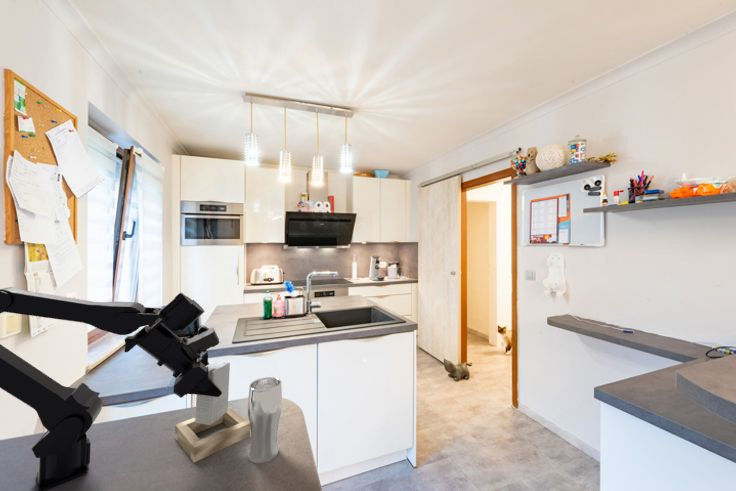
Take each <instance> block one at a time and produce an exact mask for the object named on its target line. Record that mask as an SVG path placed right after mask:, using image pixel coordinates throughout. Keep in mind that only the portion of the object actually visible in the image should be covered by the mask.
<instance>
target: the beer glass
mask: <svg viewBox="0 0 736 491" xmlns="http://www.w3.org/2000/svg"><path fill="white" fill-rule="evenodd" d="M248 386H249V388H248V398H247V400H248V401H247V415H248V416H247V417H248V418H247V419H248V422H249V425H250V439H251V440H250V446H249V451H248V459H249V461H250V462H252V463H255V464H265V463H268V462H270V461H272V460H273V459H275V458H276V457H277V456H278V454H279V450H280V449H279V442H278V430H279V424H280V419H281V413H282V406H283V405H282V404H283V391H282V380H281V379H280V378H278V377H274V376H273V377H269V376H268V377H267V376H266V377H261V378H257V379H254V380H253V381H251V383H250V384H249V385H248Z"/></svg>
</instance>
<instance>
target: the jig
mask: <svg viewBox="0 0 736 491" xmlns="http://www.w3.org/2000/svg"><path fill="white" fill-rule="evenodd" d="M222 423H224V424H225V426H227V427H228V428H225V429H223V430H220V431H219V432H218V431H217V432H215V433H213V434H212V435H210V436H207V437H204V438H202V439H200V437H198V435H197V433H198V434H199V433H201V432H202V431H205V430H208V429H210V428H212V427H215V426H218V425H220V424H222ZM174 426H175V427H174V439H175V440H176V441H177V442H178V444H179V445H180V447H181V448H182V449H183V450H184V451H185V453H186V454H187V456H188V457H189V458H190V459H191V461H192V462H193V463H196V462H198V461H200V460H202V459H203V460H204V459H205V458H208V457H209V456H211V455H213V454H215V453H217V452H219V451H222V450H224V449H226V448H227V447H230V446H232V445H234V444H236V443H239V442H241V441H242V440H244V439H245V440H246V438H249V437H251V431H250V425H249V420H247V419H246V418H244V416H242V415H241V414H239V413H238V412H237V411H236V410H234V409H233V408H232V407H231V406H229V405H228V411H227V412H226V413H225V414H224V415H222V416H221V417H220V418H219V419H217V420H216V421H215V422H214V423H213V424H211V425H206V424H199V423H196V422H195V417H192V418H190V419H186V420H184V421H182V422H178V423H176V424H175V425H174Z"/></svg>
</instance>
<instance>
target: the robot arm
mask: <svg viewBox="0 0 736 491" xmlns="http://www.w3.org/2000/svg"><path fill="white" fill-rule="evenodd" d="M3 313H11V314H17V315H22V316H23V315H25V316H31V317H37V318H38V317H39V318H47V319H53V320H54V319H55V320H61V321H69V322H76V323H83V324H85V325H86V324H87V325H89V326H92V327H94V328H96V329H98V330H100V331H104V332H106V333H107V332H108V333H111V334H114V335H117V336H118V335H119V336H126V337H125V338H124V353H129V352H130V351H131V350H133V348H134V347H135V346H138V347H139V348H140V349H142V350H143V351H144V352H146V353H147V354H148V355H149V356H151V357H152V358H154V359H155V360H156V361H157V362H156V365H157V366H158V367H160V368H161V367H162V366H164V367H166V368H167V369H168V370H170V371H171V372H172V375H171V376H172V377H174V378H175V379H174V380H175V381H174V383H173V393H174V395H176V396H178V397H179V398H180V399H182V398H184V397H185V395H186V396H187V395H196V396H197V395H206V396H214V397H219V396H220V395H221V394H222V392H221V390H220V389H219V388H218V387H217V386H216V384H215V383H214V382H213V381H212V380H211V379H210V378H209V376H208V366H207V365H209V364H210V363H209V352H208V351H207V350H208V349H210V348H214V347H216V346H217V345H219V344H220V338H219V336H218V334H217V333H216V330H215V329H214V327H210V328H209V327H207V326H205V325H203V326H200V327H198V330H197V335H194V336H193V337H191V338H190V339H188V338H186V337H185V336H181V337H179V336H178V335H176V334H175V333H174V332H179V331H182V332H183V331H186V330H187V328H188V327H190V326H191V325H192V324H193V323H194V322H195V321H197V319H199V318H200V317H201V316H202V315H203V314H204V313H205V310H204V308H203V307H202V306H201V305H200V304H199V303H198V302H197V301H195V300H194V299H192V298H190V297H189V296H187V295H185V294H184V293H183V292H179V293H178V294H177V295H176V296H174V298H173V299H172V300H171V301H170V302H169V303H167V304H166V305H165V306H164V307H163V308H162V307H160V308H159V307H149V306H148V307H145V305H143V304H142V303H140V302H136V301H105V302H104V301H91V300H86V299H79V298H74V297H67V296H61V295H56V294H55V295H54V294H48V293H42V292H36V291H31V290H25V289H21V288H19V287H15V286H14V287H13V286H12V287H11V286H10V287H3V288H0V315H1V314H3ZM159 318H160V319H159ZM158 319H159V320H158ZM157 320H158V321H157ZM156 321H157V322H156ZM154 323H155V324H154ZM152 324H153V325H152ZM150 325H152V326H151V327H150ZM141 327H142V328H141ZM140 328H141V329H140ZM139 329H140V330H139ZM137 330H139V331H138V332H137V333H135V334H134V335H130V334H133V333H134V332H136V331H137ZM172 331H173V332H172ZM202 353H204V354H203V355H202ZM206 366H207V367H206ZM0 389H1V390H3V391H4V392H6V393H7V394H8V395H11V396H12V397H14V398H15V399H17V400H19V401H21V402H22V403H24V404H25V405H27V406H29V407H30V408H32V409H33V410H34V411H36V413H37V416H38V418H39V420H40V423H41V425H42V426H43V427H44V428H45V429H46V432H44V434H43V435H42V436H41V437H40V438H39V439H38V441H37V442H36V443H35V444H34V445H33V446H32V448H31V450H32V452H33V454H34V457H35V458H36V459H38V469H37V470H38V471H36V484H37V491H41V490H43V491H46V490H47V489H50V488H52V487H54V486H58V485H61V484H63V483H65V482H67V481H69V480H72V479H75V478H77V477H80V476H82V475H85V474H87V473H88V471H89V470H88V465H90V462H91V440H90V438H88V435H87V432H88V431H89V430H90V428H91V427H92V425H93V424H94V422H95V421H96V419H97V418H98V417H99V415H100V413H101V412H102V408H103V401H102V398H101V397H99V395H100V394H101V392H98V391H94V390H93V389H91V388H90V387H89V386H88V385H87V384H86V383H84V382H81V383H79V385H78V386H77V387H69V386H65V385H62V384H60V383H59V382H58V381H56V380H54V379H53V378H52V377H50V376H49V375H47V374H46V373H45V372H43V371H42V370H39V369H38V368H37V367H35V366H34V365H32V364H31V363H29V362H28V361H27V360H25V359H23V358H22V357H20V356H19V355H17V354H16V353H14V352H13V351H12V350H10V349H9V348H7V347H5V346H3V345H2V344H1V343H0Z"/></svg>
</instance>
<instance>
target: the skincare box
mask: <svg viewBox="0 0 736 491" xmlns="http://www.w3.org/2000/svg"><path fill="white" fill-rule="evenodd" d="M207 366H208V376H209V378H210V379H211V380H212V381H213V382H214V383H215V384H216V386H217V387H218V388H219V389H220V390H221V392H222V394H221V395H220V396H219V397H214V396H206V395H196V397H195V399H196V400H195V417H194V418H195V422H196V423H199V424H206V425H211V424H213V423H214V422H215V421H216V420H217V419H219V418H220V417H221V416H222V415H224V414H225V413H226V412H227V411H228V406H229V393H230V392H229V389H230V370H231V369H230V366H231V363H230V362H229V361H216V360H215V361H213V362H211V363H209V365H207ZM207 366H206V367H207Z"/></svg>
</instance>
